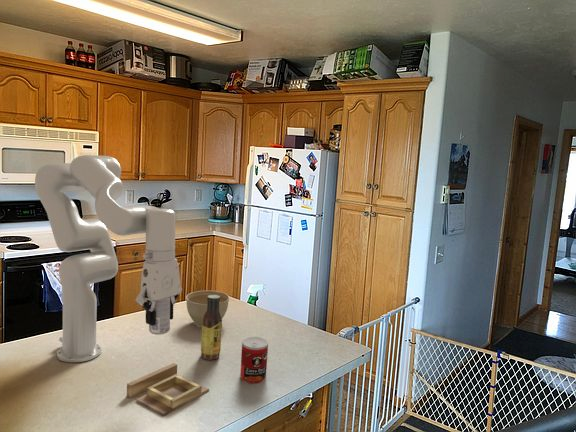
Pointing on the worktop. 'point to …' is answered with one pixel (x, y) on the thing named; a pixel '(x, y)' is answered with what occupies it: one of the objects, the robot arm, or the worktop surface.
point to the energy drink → (161, 317)
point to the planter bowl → (204, 305)
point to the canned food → (254, 359)
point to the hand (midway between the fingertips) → (159, 320)
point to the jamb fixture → (165, 390)
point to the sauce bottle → (211, 329)
